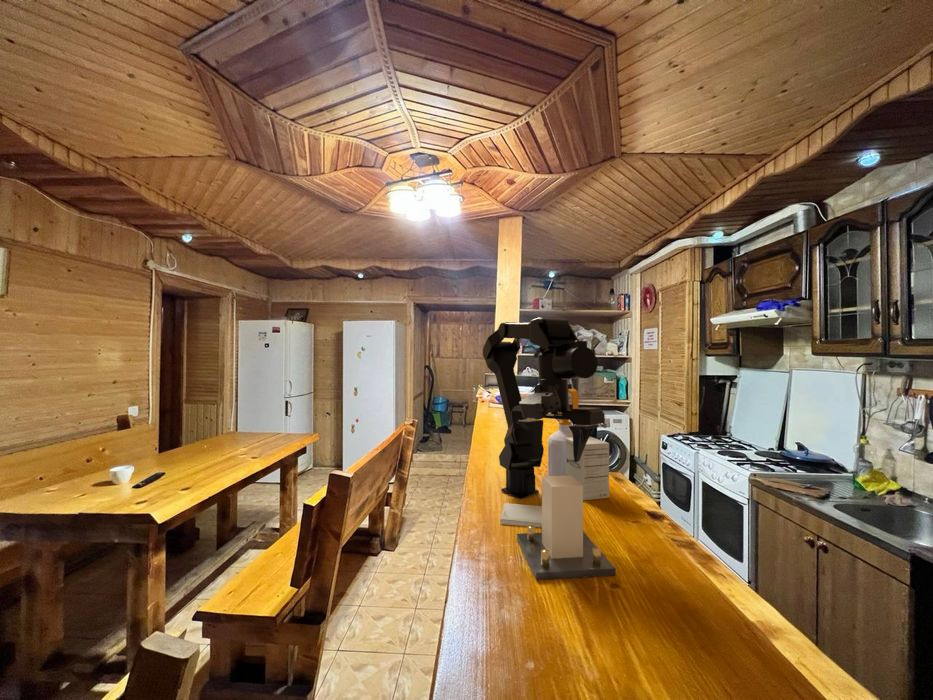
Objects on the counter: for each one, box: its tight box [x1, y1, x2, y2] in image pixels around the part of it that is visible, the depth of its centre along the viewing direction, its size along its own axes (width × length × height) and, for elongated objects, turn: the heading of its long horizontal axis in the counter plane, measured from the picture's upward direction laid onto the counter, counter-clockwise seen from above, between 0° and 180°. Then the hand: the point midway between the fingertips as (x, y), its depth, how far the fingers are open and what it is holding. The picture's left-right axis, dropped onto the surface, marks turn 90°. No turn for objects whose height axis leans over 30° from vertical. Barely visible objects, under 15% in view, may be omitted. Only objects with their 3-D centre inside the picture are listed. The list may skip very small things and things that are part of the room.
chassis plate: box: [516, 525, 617, 581], centre depth 61 cm, size 12×12×3 cm
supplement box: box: [566, 436, 610, 501], centre depth 88 cm, size 7×7×13 cm
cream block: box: [541, 475, 584, 559], centre depth 61 cm, size 5×5×11 cm
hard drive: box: [499, 502, 542, 528], centre depth 75 cm, size 2×8×12 cm
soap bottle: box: [547, 387, 579, 476], centre depth 99 cm, size 9×9×25 cm
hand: (556, 458), depth 75 cm, fingers open, 9 cm apart
